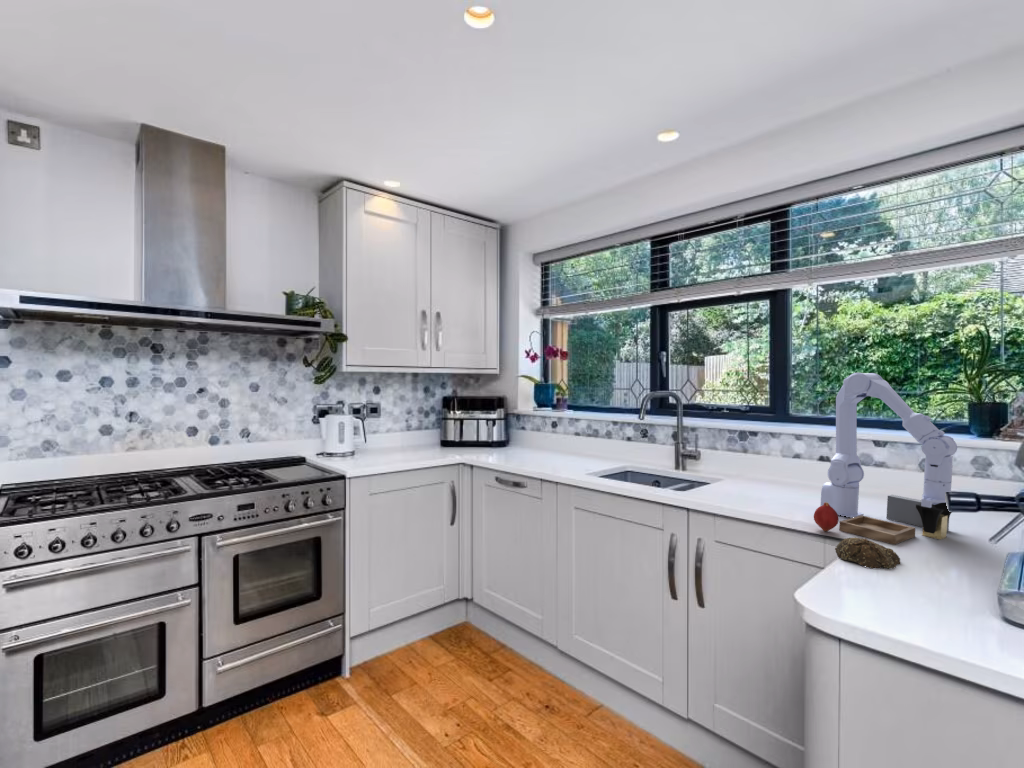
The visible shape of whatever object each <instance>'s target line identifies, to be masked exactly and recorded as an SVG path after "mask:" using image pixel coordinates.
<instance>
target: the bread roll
mask: <svg viewBox="0 0 1024 768" xmlns="http://www.w3.org/2000/svg"><path fill="white" fill-rule="evenodd" d="M834 550H835V553H836V556H837V557H838V559H840V558H842V559H841V560H842V561H846V562H854V563H855V564H859V565H860V566H861V565H863V566H866V567H871V568H870V569H873V568H880V569H884V568H888V569H887V570H890V569H889V568H892V569H895V568H897V566H898V565H900V564H901V558H900V557H899V556H900V555H898V554H897V552H895V551H894V550H893V549H892V548H889V547H885V546H883V545H882V544H879V543H877V542H874V541H872V540H870V539H869V540H868V539H867V538H865V537H864V538H863V537H861V538H860V537H845V538H843V539H842V540H840V542H838V543H837V545H836V547H835V548H834ZM897 564H898V565H897ZM863 566H862V567H863ZM866 567H865V568H866ZM894 567H895V568H894Z"/></svg>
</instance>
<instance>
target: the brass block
mask: <svg viewBox="0 0 1024 768" xmlns="http://www.w3.org/2000/svg"><path fill="white" fill-rule="evenodd" d="M947 518H948V516H947V515H943V514H941V515H940V517H939V519H938V523H937V527H936V531H935V533H934V534H933V533H928V532H924V529H923V528H922V536H924V537H929V538H932V539H936V540H939V541H941V540H943V539H946V538H947V532H948V531H947Z"/></svg>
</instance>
